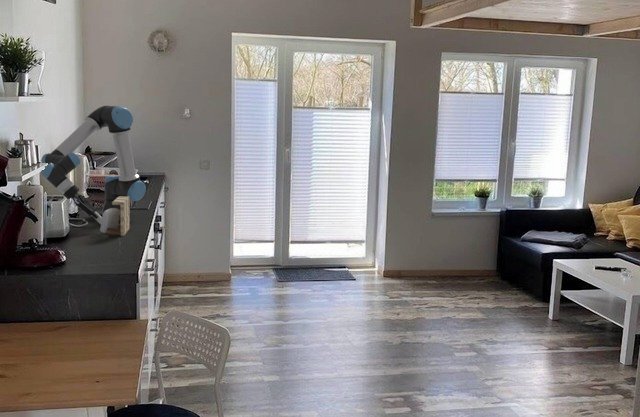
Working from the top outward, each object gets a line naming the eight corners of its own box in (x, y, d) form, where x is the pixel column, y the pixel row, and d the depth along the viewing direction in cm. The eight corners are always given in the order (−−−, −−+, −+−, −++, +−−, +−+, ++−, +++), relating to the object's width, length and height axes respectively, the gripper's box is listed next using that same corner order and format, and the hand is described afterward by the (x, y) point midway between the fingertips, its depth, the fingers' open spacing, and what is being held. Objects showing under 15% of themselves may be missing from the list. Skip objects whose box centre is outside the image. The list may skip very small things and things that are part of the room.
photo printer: (111, 227, 328) (115, 205, 325) (118, 230, 327) (122, 208, 324) (98, 231, 318) (102, 208, 315) (105, 234, 317) (109, 211, 314)
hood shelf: (113, 228, 332) (112, 196, 329) (129, 228, 333) (129, 196, 330) (106, 235, 314) (106, 202, 311) (123, 235, 315) (123, 202, 312)
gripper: (66, 192, 323) (100, 224, 328) (59, 196, 310) (94, 229, 315) (76, 182, 322) (110, 214, 328) (70, 186, 310) (105, 219, 315)
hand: (102, 222), depth 321 cm, fingers closed
